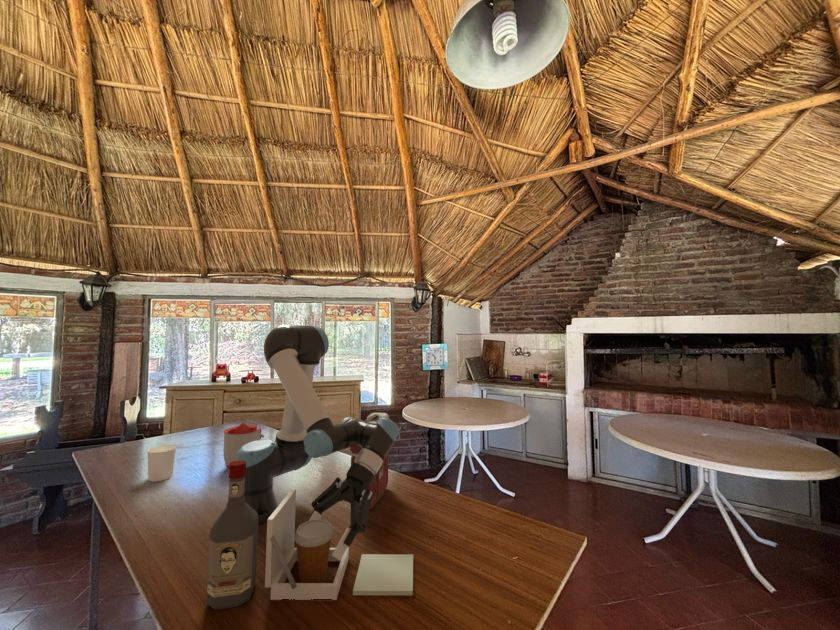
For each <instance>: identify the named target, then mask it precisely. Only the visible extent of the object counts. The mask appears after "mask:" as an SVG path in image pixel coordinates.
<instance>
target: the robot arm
mask: <svg viewBox="0 0 840 630" xmlns="http://www.w3.org/2000/svg"><path fill="white" fill-rule="evenodd" d="M265 337H266V338H265V339H264V343H263V355H264V358H265V361H266V363H267V365H268V366H269V368H270V369H274V371H275V373H276V375H277V377H278V379H279V381H280V383H281V385H282V387H283V388H284V390H285V392H286V395H285V401H284V408H283V415H282V423H281V428H280V429H279V430H278V431H277V432H276V434H275V441H274V440H272V439H260V440H257V441H253V442H250V443H247V444H245V445H243V446H242V447H241V448H240V449H239V450H238V452H237V457H236V461H238V460H244V461H246V476H245V484H244V497H245V502H246V503H247V504H248V505H249V506H250V507H252V508H253V509H254V510H255V511H256V512H257V514H258V525H260V524H263V523H265V522H267V519H268V518H269V517H270V516H271V514H272V513H273V512H274V511H275V509H276V508H277V507H278V502H277V499H276V496H275V491H274V489H273V488H274V487H273V484H274V483H273V482H274V478H275V477H278V476H282V475H285V474H288V473H289V472H293V471H297V470H300V469H301V468H303V467H305V466H307V465H309V463H310V462H311V461H312V459H317V458H323V457H326V456H329V455H332V454H333V453H337V452H339V451H343V450H346V449H349V448H350V447H352V446H355V445H359V446H361V447H362V449H361V450H360V452H359V453H358V455H357V457H356V458H355V460H354V462H355V463H353V464H352V465H351V464H350V467H349V469H347V472H346V473H345V475H346V478H345V479H344V480H342V479H341V478H340V477H339V476H338V477H336V478H335V479H334V481H333V482H332V483H331V484H330V485H329V486H328V487H327V488H326V489H325V490H323V492H321V494H319V495H318V496H317V497H316V498H315V499H314V500H312V502H311V503H310V505H311V507H312V508H313V510H312V512H311V514H310V515H309V517H308V518H307V521H311V520H317V519H319V520H322V517H323V512H325V511H327V510H328V509H330V508H332V507H333V506H334V505H336V504H337V503H339V502H346V503H349V504H350V525H349V526H348V527H346V528H345V531H344V533H343V534H342V536H341V538H340V539H339V541H338V543H337V545H336V547H335V548H336V549H335V550H334V552H333V554H332V556H333V557H335V558H336V559H338V560H339V561H338V562H341V561H340V560H341V558H342V556H343V555H344V553H345V551H346V549H347V548H349V547H350V546H351V545H352V544H353V541H354V539H355V538H356V536H357V534H359V533H362V534H365V533H366V531H367V526H368V520H369V515H370V514H369V513H370V510H371V509H370V503H371V500H372V498H373V495H374V494H373V493H372V492H371V491H370V490H369V489H368V488H369V487H370V485H371V483H372V482H373V480H374V478H375V477H374V475H375V474H377V472H378V470H379V469H380V467H381V465H382V463H383V461H384V460H385V457H386V455H387V454H388V452H390V450H391V449H392V447H393V445H394V444H395V442H396V440H397V437H398V435H399V433H400V427H399V426H398V425H397V423H396V422H394V421H393V420H391V419H390V418H389V419H388V418H380V419H379V421H378V422H377V424H374V423H370V422H367V421H365V420H363V419H360V418H357V417H354V416H353V417H352V416H347V417H344V418H343V419H342V420H341V421H340V422H339V423H338V424H337V423H336V424H334V423H333V421H332V420H331V418H330V416H329V414H328V413H327V411H326V409H325V408H324V405H323V403H322V402H321V400H320V398H319V397H318V394H317V393H316V391H315V389H314V387H313V383H314V382H313V381H314V375H315V369H316V367H318V366H319V365H320V362H321V358H323V357H324V356H325V355H326V354H327V353H328V351H329V346H330V343H329V342H330V340H329V337H328V334H327V333H326V331H325V330H324V328H321V327H320V326H315V325H309V324H307V325H304V324H303V325H302V324H301V325H299V324H281V325H278V326H276V327H275V328H273V329H271V331H270V332H268V334H267V335H266V336H265ZM361 497H362V501H361V507H360V498H361ZM359 507H360V509H359ZM307 521H306V522H307Z"/></svg>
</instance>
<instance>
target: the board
mask: <svg viewBox="0 0 840 630" xmlns="http://www.w3.org/2000/svg"><path fill="white" fill-rule="evenodd" d="M352 596H414V554H413V553H411V554H395V553H390V554H389V553H387V554H384V553H383V554H381V553H380V554H379V553H377V554H375V553H374V554H370V553H368V554H363V553H362V554H361V557H360V561H359V564H358V569H357V574H356V577H355V580H354V585H353V589H352Z"/></svg>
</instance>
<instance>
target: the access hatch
mask: <svg viewBox="0 0 840 630" xmlns="http://www.w3.org/2000/svg"><path fill="white" fill-rule="evenodd" d="M296 501H297V489H291V490H290V491H289V492H288V494H287V495H286V496H285V497H284V499H282V501H281V502H280V503H279V505H277V508H276V509H275V511H274V512H273V513H272V514H271V516H270V517H269V518H268V519H267V521H266V522H267V523H266V549H265V550H266V551H265V570H264V571H265V575H264V577H265V578H264V588H265V589H267V588H270V600H271V601H282V599H289V600H288V601H298V600H299V601H314V600H313V599H332V600H331V601H337V599H338V596H339V592H340V589H341V586H342V582H343V579H344V576H345V573H346V570H347V566H348V564H349V563H348V562H349V561H350V560H349V558H350V557H349V556H350V547H347V549H346V551H345V553H344V555H343V556H342V558H341V560H340V561H339V560H338V559H336V558H335V557H333V556H332V554H333V552H334V550H335V549H336V547H330V551H329V558H328V562H339V565H338V568H337V571H336V574H335V577H334V579H333V582H332V583H329V582H328V583H327V582H321V583H300V582H296V581H295V578H294V576H293V574H292V572H291V570H292V568H294V565H295V564H296V562H298V556H297V546H296V547H295V539H294V535H295V533H296V506H297V505H296V503H297V502H296ZM287 580H288V582H286V581H287ZM291 599H292V600H291ZM293 599H295V600H293ZM311 599H312V600H311Z"/></svg>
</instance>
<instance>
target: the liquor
mask: <svg viewBox="0 0 840 630" xmlns="http://www.w3.org/2000/svg"><path fill="white" fill-rule="evenodd" d="M245 476H246V461H244V460H238V461H233V462H231V463H229V470H228V479H229V481H228V482H229V483H228V496H227V497H228V498H227V503H226V506H225V508H224V509H223V510H222V511H221V512H220V514H219V515H218V516H217V518H216V520H215V522H214V523H213V524H212V526H211V528H210V531H209V543H208V561H207V562H208V563H207V564H208V565H207V566H208V567H207V582H206V583H207V584H206V604H207V605H208V607H210V606H211V609H213V610H214V609H215V610H214V611H217V610H216V609H218V610H224V609H231V608H237V607H240V606H242V605H244V603H246V602H247V601H249V600H250V599H251V598H252V597H251V596H252V594H253V590H254V587H255V586H256V585H255V584H256V581H257V565H258V563H257V562H258V543H259V541H258V540H259V539H258V537H259V536H258V535H259V524H258V514H257V512H256V511H255V510H254V509H253V508H252V507H250V506H249V505H248V504H247V503H246V502H245V497H244V484H245Z"/></svg>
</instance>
